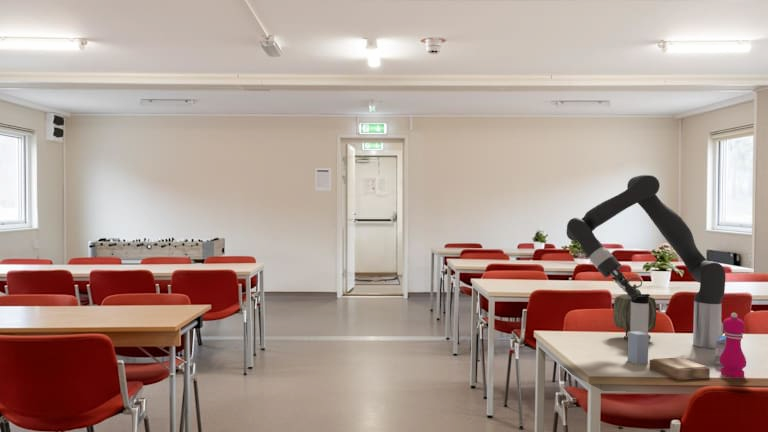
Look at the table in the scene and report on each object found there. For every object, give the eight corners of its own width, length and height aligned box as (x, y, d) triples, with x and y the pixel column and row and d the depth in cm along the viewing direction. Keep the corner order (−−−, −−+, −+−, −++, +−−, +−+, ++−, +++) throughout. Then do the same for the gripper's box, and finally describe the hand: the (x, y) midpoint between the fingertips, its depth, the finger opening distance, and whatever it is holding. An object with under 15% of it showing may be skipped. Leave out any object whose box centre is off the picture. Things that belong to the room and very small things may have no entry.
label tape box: (718, 360, 193) (719, 325, 193) (732, 362, 191) (733, 327, 191) (714, 365, 186) (715, 329, 186) (728, 367, 184) (729, 331, 184)
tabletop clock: (624, 341, 219) (626, 279, 219) (610, 336, 228) (612, 276, 228) (655, 340, 222) (657, 278, 222) (640, 335, 231) (641, 276, 231)
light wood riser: (679, 367, 183) (680, 356, 183) (709, 377, 171) (709, 366, 171) (649, 368, 180) (649, 358, 180) (677, 379, 168) (677, 368, 168)
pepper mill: (746, 380, 170) (748, 315, 170) (719, 375, 174) (720, 313, 173) (745, 374, 176) (747, 312, 176) (719, 370, 180) (721, 309, 180)
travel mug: (650, 347, 209) (651, 295, 209) (632, 346, 211) (633, 294, 210) (646, 343, 215) (647, 293, 215) (628, 342, 217) (629, 292, 216)
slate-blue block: (638, 359, 191) (639, 331, 191) (647, 363, 186) (648, 334, 186) (627, 360, 190) (628, 331, 190) (636, 364, 185) (637, 334, 185)
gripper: (611, 251, 198) (643, 286, 190) (614, 259, 210) (644, 293, 202) (594, 264, 200) (625, 299, 192) (598, 271, 212) (627, 305, 204)
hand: (635, 296), depth 197 cm, fingers open, 8 cm apart
